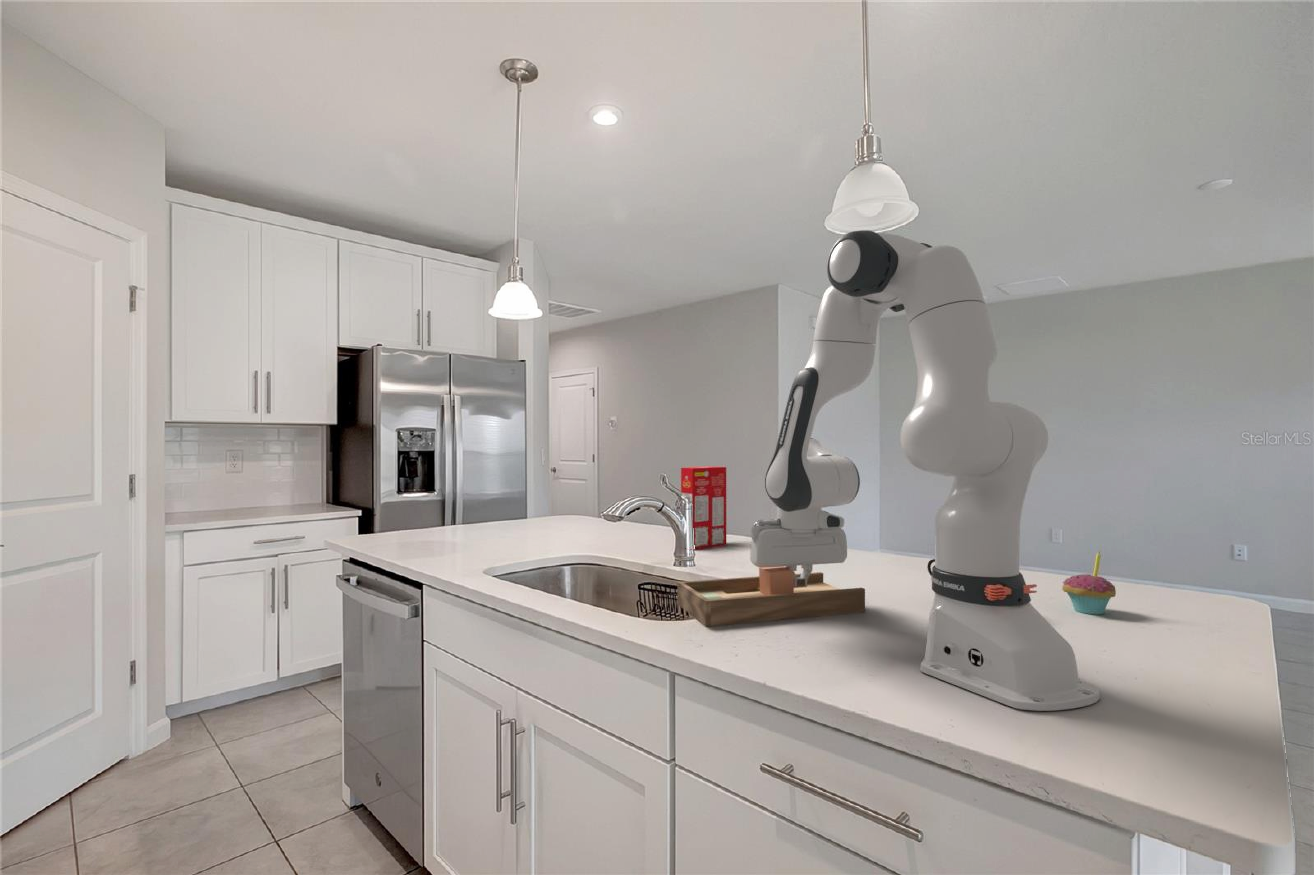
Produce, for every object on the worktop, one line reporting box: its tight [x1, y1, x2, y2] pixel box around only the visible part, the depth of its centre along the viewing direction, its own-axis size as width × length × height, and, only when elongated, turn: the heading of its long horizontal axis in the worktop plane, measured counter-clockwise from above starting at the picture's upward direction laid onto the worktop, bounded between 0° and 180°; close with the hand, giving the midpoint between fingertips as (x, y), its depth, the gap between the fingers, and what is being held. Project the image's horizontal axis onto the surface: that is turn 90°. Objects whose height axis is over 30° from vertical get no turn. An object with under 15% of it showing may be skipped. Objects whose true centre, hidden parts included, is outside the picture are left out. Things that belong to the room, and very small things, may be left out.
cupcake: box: [1061, 549, 1117, 616], centre depth 121 cm, size 9×8×12 cm
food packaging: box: [680, 466, 727, 551], centre depth 197 cm, size 15×5×25 cm, turn 130°
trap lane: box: [676, 571, 866, 627], centre depth 124 cm, size 16×33×4 cm, turn 106°
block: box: [758, 566, 794, 595], centre depth 125 cm, size 5×5×5 cm
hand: (798, 587), depth 126 cm, fingers closed
